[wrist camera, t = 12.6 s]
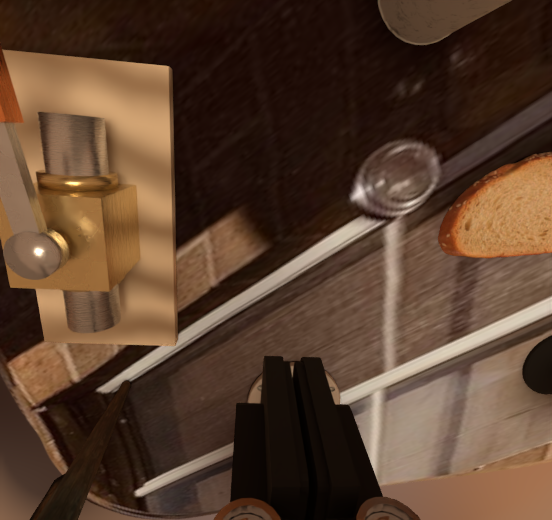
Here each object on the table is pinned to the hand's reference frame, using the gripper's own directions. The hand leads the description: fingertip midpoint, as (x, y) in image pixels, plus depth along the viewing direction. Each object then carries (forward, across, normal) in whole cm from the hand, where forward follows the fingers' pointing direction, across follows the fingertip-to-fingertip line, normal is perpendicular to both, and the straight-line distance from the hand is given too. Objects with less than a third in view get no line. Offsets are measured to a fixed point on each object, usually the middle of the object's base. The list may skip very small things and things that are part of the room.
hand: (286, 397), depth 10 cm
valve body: (+28, +17, +2) cm, 32 cm away
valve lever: (+18, +18, -5) cm, 26 cm away
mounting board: (+29, +17, +2) cm, 34 cm away
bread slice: (+30, -32, -2) cm, 43 cm away
